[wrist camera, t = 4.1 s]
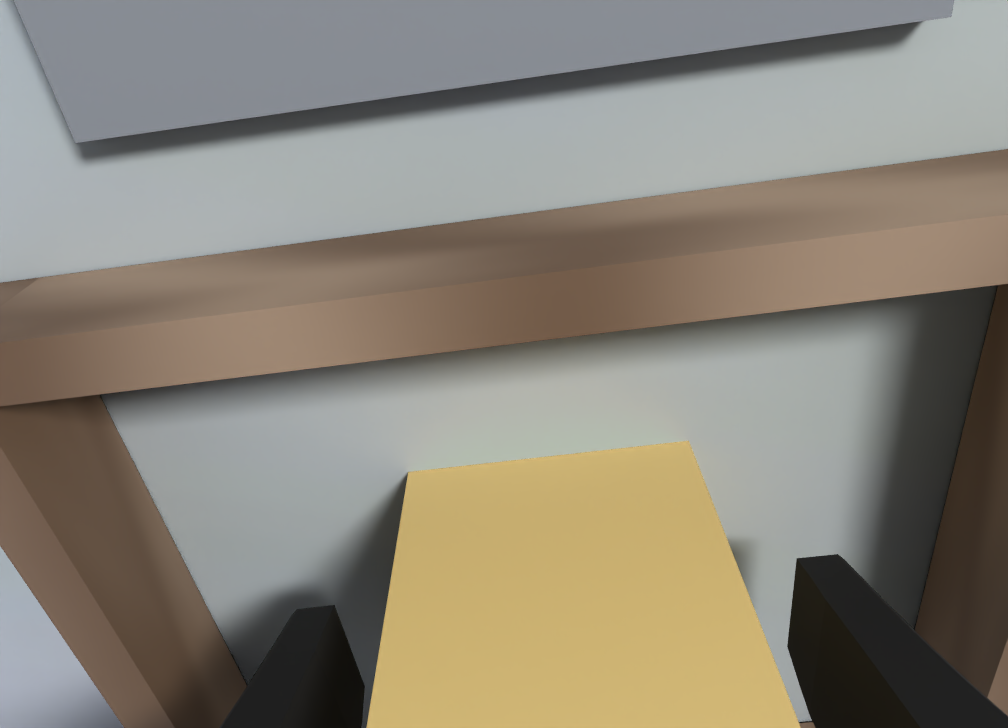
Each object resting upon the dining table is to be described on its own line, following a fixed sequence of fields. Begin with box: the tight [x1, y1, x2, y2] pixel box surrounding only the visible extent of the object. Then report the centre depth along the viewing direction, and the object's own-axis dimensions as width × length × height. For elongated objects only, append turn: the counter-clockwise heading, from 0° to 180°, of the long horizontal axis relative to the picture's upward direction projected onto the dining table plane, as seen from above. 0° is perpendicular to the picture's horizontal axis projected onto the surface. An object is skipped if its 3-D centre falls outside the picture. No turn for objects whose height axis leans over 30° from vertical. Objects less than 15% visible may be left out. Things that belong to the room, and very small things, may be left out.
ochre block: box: [367, 441, 801, 728], centre depth 10 cm, size 4×4×6 cm
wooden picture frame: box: [0, 149, 1008, 728], centre depth 12 cm, size 15×13×2 cm
